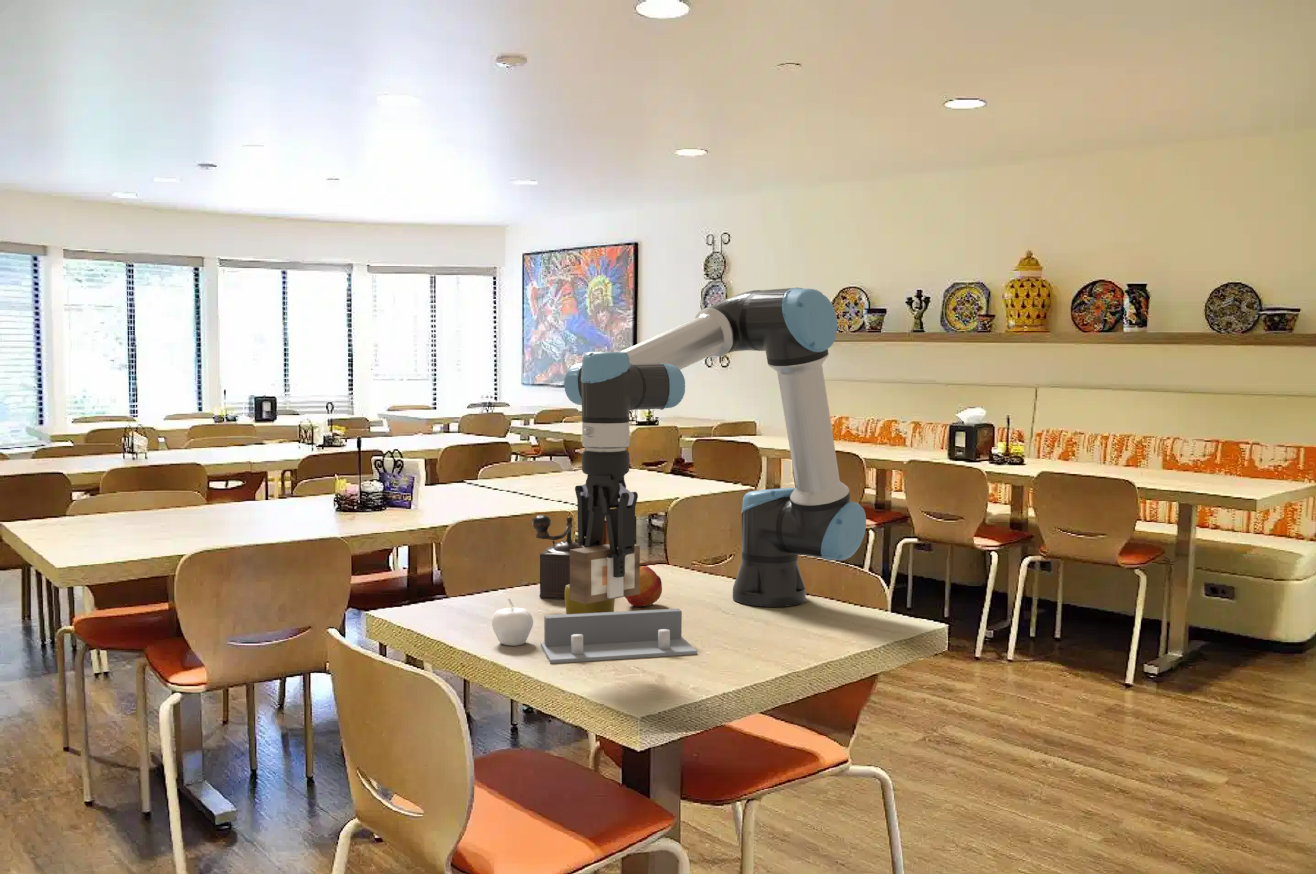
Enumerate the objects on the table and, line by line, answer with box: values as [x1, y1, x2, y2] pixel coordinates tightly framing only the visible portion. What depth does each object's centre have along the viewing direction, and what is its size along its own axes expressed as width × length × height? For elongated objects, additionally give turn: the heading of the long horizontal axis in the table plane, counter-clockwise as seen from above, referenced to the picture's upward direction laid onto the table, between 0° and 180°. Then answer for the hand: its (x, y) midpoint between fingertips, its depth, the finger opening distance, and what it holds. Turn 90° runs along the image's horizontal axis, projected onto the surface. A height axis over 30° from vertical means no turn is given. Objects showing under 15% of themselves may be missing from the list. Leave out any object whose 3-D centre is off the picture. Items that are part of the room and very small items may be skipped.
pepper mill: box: [531, 514, 585, 600], centre depth 228 cm, size 16×11×18 cm
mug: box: [564, 584, 616, 614], centre depth 204 cm, size 12×10×10 cm
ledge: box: [540, 608, 698, 664], centre depth 187 cm, size 25×11×6 cm, turn 104°
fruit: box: [624, 565, 663, 608], centre depth 221 cm, size 8×8×8 cm
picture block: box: [570, 543, 641, 604], centre depth 175 cm, size 11×4×8 cm, turn 130°
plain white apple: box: [491, 598, 534, 647], centre depth 191 cm, size 7×7×8 cm
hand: (605, 593), depth 175 cm, fingers closed on picture block, 4 cm apart
